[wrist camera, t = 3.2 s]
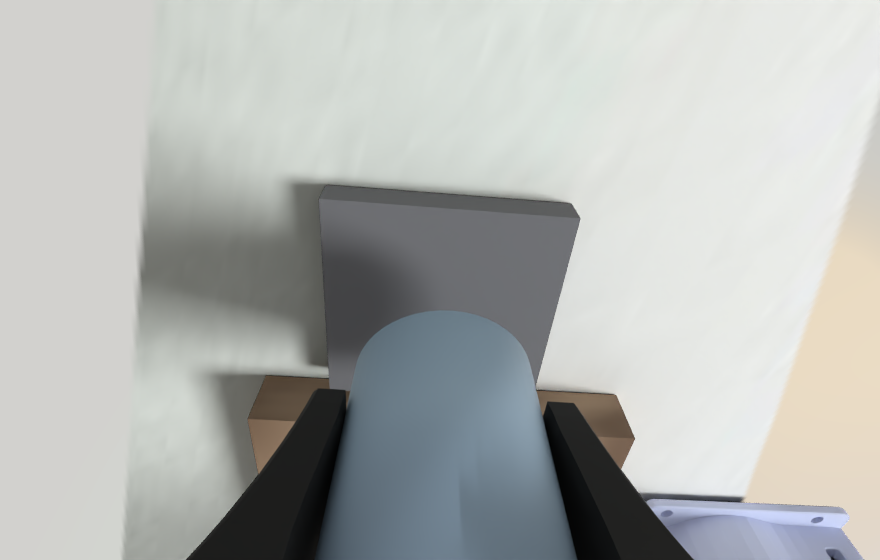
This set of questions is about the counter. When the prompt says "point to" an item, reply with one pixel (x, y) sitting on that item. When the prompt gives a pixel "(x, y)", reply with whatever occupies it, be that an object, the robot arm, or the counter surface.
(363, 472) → the peg
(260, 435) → the socket plate
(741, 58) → the counter surface
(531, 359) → the mat
